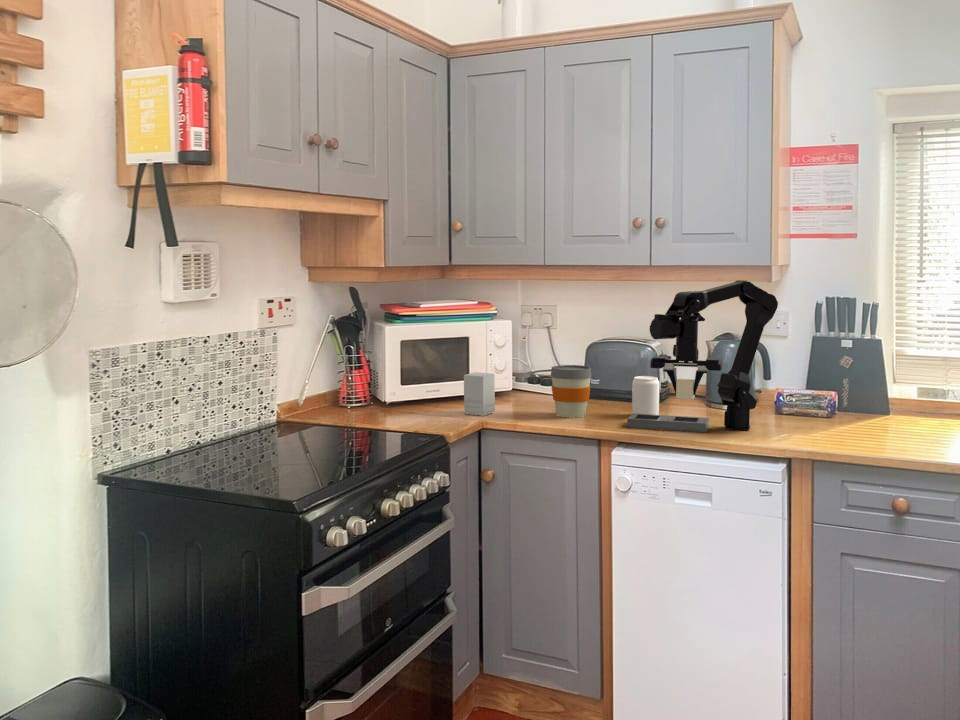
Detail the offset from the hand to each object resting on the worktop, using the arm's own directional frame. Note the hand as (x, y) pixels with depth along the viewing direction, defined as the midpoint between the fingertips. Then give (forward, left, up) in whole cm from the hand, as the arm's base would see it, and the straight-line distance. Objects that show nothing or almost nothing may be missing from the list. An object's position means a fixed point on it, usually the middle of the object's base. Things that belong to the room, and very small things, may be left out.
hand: (685, 394), depth 232 cm
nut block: (0, 0, -1) cm, 1 cm away
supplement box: (+65, -10, -11) cm, 66 cm away
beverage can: (+15, -22, -11) cm, 29 cm away
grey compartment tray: (+6, -8, -11) cm, 15 cm away
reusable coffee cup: (+37, -16, -11) cm, 42 cm away
